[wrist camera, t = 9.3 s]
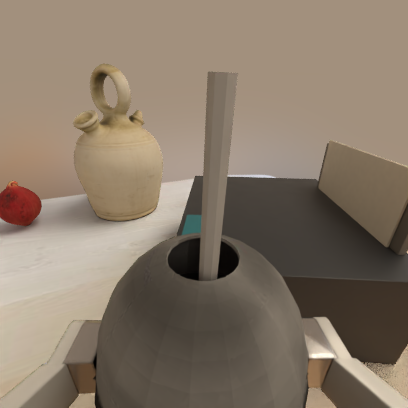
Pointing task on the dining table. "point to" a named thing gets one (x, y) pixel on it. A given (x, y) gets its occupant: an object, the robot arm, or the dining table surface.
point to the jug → (117, 154)
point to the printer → (331, 243)
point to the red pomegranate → (19, 205)
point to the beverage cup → (203, 310)
